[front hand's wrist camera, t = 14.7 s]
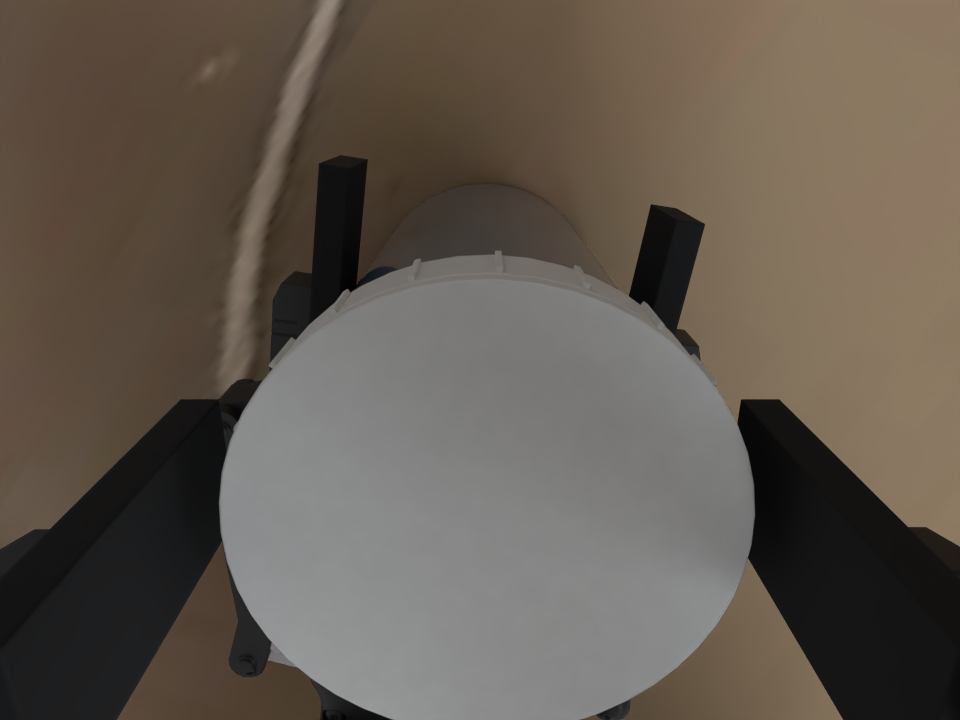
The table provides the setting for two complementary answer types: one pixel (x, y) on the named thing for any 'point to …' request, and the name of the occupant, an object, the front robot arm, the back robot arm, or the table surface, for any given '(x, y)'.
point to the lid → (486, 495)
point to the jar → (484, 231)
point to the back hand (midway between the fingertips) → (512, 188)
